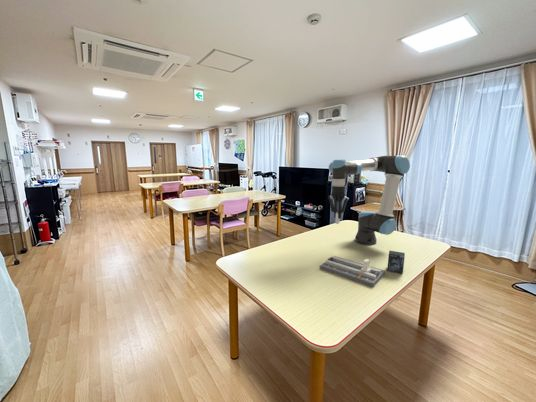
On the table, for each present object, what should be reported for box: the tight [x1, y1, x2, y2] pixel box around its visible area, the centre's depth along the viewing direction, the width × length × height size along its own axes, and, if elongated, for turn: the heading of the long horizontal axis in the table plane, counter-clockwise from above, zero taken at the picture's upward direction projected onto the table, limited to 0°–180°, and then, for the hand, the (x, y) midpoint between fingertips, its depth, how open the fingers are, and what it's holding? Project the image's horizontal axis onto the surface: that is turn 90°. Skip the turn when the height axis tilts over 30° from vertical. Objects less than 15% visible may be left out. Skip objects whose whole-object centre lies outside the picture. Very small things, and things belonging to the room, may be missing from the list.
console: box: [319, 255, 386, 288], centre depth 134 cm, size 18×30×4 cm, turn 48°
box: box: [386, 250, 406, 275], centre depth 134 cm, size 8×6×11 cm
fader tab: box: [361, 258, 371, 273], centre depth 128 cm, size 4×4×7 cm
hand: (337, 223), depth 148 cm, fingers closed
